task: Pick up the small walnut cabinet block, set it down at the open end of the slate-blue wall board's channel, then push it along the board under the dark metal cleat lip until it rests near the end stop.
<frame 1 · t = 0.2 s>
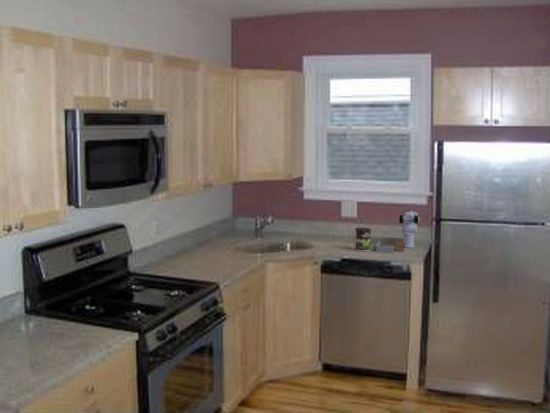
hand: (407, 220, 407), 21 cm above the worktop, tool horizontal, fingers open, 7 cm apart
cleat wall: (384, 249, 418), on the worktop
coffee can: (362, 249, 416), on the worktop
cabinet block: (399, 251, 414), on the worktop
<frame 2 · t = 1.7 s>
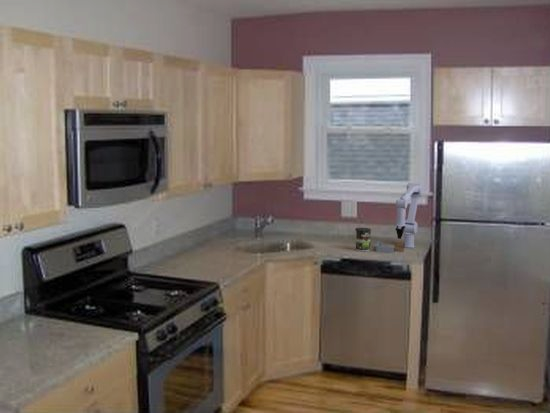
hand: (399, 237, 413), 9 cm above the worktop, tool pointing down, fingers open, 7 cm apart
nothing on the worktop moved.
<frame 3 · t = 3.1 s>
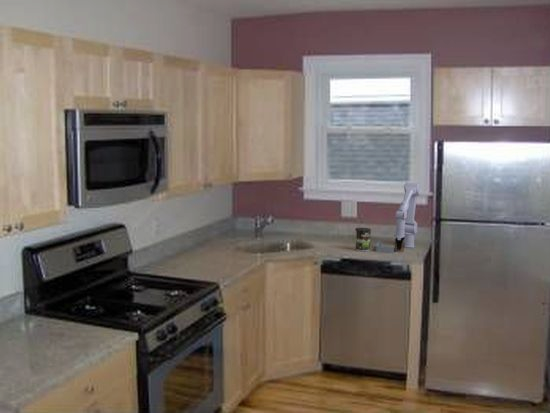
hand: (399, 248, 414), 1 cm above the worktop, tool pointing down, fingers closed on cabinet block, 4 cm apart
cabinet block: (399, 250, 414), on the worktop, touching gripper
everything else where it was.
when the fingers open (2 cm above the worktop, at t = 6.0 s): cabinet block stays where it is, on the worktop.
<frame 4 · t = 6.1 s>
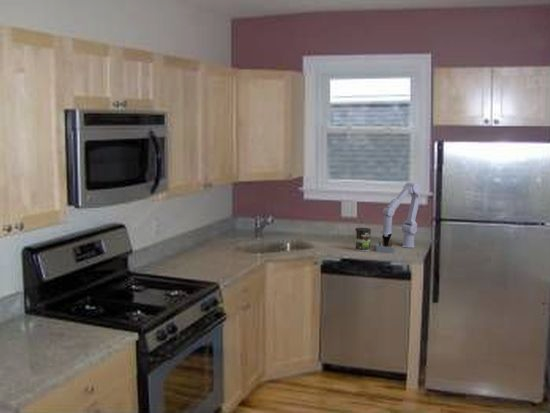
hand: (386, 245, 420), 2 cm above the worktop, tool pointing down, fingers open, 5 cm apart
cabinet block: (386, 248, 420), on the worktop
everything else where it was.
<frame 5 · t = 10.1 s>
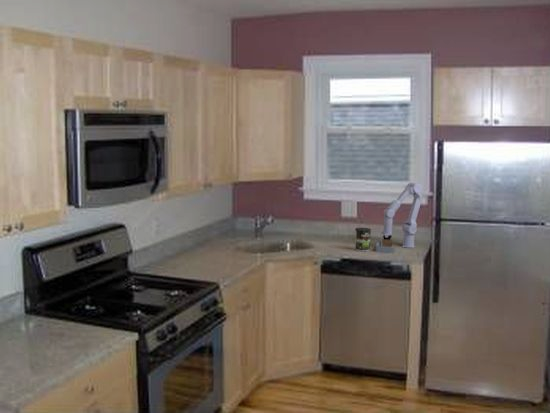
hand: (386, 246, 424), 1 cm above the worktop, tool pointing down, fingers closed
cabinet block: (386, 248, 420), on the worktop, touching gripper
everything else where it was.
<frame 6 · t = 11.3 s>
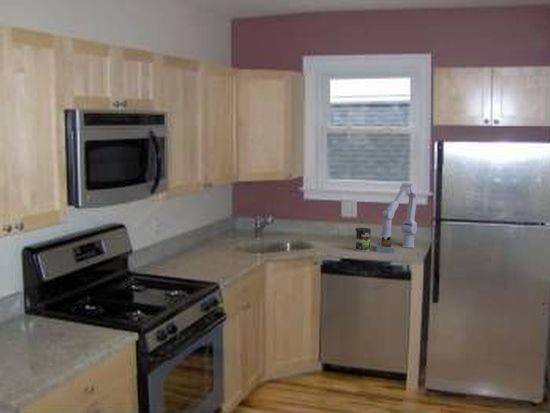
hand: (385, 248, 417), 1 cm above the worktop, tool pointing down, fingers closed
cabinet block: (385, 249, 415), point 1 cm above the worktop, tilted 16°, touching gripper
everything else where it was.
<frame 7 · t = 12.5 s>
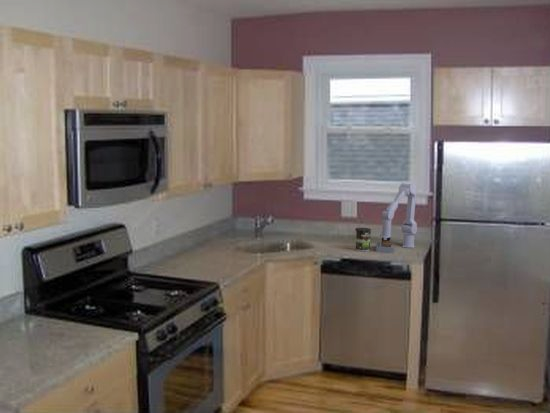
hand: (385, 248, 415), 1 cm above the worktop, tool pointing down, fingers closed
cabinet block: (385, 250, 413), point 1 cm above the worktop, tilted 16°, touching gripper
everything else where it was.
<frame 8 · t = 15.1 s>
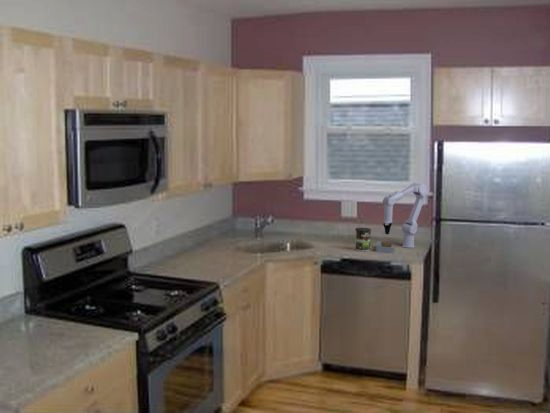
hand: (387, 234, 420), 10 cm above the worktop, tool pointing down, fingers closed
cabinet block: (385, 251, 413), on the worktop
everything else where it was.
at the end: cabinet block 0.8 cm from the target spot, on the worktop; cabinet block tilted 0°; the gripper is holding nothing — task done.
